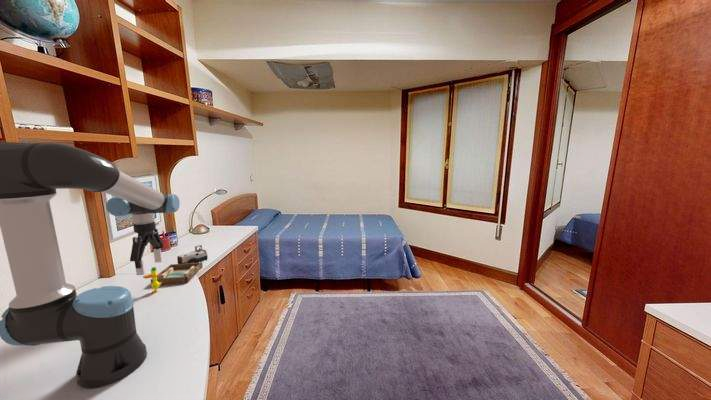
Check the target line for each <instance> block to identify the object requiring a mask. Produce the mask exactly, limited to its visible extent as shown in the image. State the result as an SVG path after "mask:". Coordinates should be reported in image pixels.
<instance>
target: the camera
mask: <svg viewBox="0 0 711 400" xmlns="http://www.w3.org/2000/svg"><path fill="white" fill-rule="evenodd" d="M204 260H205V261H208V252H207V250H206V249H203V244H200V245H199V244H198V245H195V246H194V250H193V251H190V252H187V253H183V254H179V255H177V264H186V263H199V262H200V263H203V262H205V261H204Z"/></svg>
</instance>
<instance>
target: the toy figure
mask: <svg viewBox="0 0 711 400" xmlns="http://www.w3.org/2000/svg"><path fill="white" fill-rule="evenodd" d="M158 274H159V273H158V272H157V267H156V266H153V267H151V269H150V274H144V275H142V278H144V279H145V280H146V279H152V280H153V282H152V284H151V283H150V286H151V289H152V292H151V294H157V293H158V292H159V291H158V289H159V288H160V287H161V286H160V285H161V283H162V282H161V283H159V282H158V281H157V276H158Z"/></svg>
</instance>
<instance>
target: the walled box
mask: <svg viewBox="0 0 711 400" xmlns="http://www.w3.org/2000/svg"><path fill="white" fill-rule="evenodd" d="M203 267H204V266H203V262H200V263H186V264H178V263H175V264H174V263H173V264H169V265H168V266H167V267H165V268H164V269H163V270H162V271H160V272H159V273H157V274H158V276H157V281H158V282H159V283H161V282H162V283H161V285H160V286H159V287H162V286H170V285H180V284H181V285H182V284H188V283H189V282H190V281H191V280H192V279H193V278H194V277H195V276H196V275H197V274H198V273H199V272H200V271H199V270H202V269H203ZM152 282H153V280H152V278H150V285H151V284H152Z"/></svg>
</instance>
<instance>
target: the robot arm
mask: <svg viewBox="0 0 711 400" xmlns="http://www.w3.org/2000/svg"><path fill="white" fill-rule="evenodd" d="M57 189H60V190H61V189H63V190H64V189H66V190H67V189H69V190H71V189H74V190H85V191H89V192H91V193H98V194H99V193H105V194H108V195H109V196H113V197H111V198H109V199H108V200H107V201H106V204H105V208H106V211H107V212H108V213H109V214H110V215H111V216H114V217H124V216H127V215H131V219H132V223H133V225H132V226H133V233H136V234H137V236H133V237H132V247H131V250H130V251H131V252H130V257H129V261H130V262H134V265H135V272H136V276H145V275H146V273H145V272H146V271H145V266H144V263H145V262H144V259H143V257H144V252H145V249H146V247H147V246H148V244H150V245H151V246H152V247H153V258H154V263H163V257H162V249H163V248H164V242H163V240H162V238H161V236H160V234H159V232H158V228H157V225H156V222H155V220H156V219H155V216H156V215H155V214H171V213H176V212H177V211H178V210H179V208H180V205H181V203H180V197H179V196H178V195H177V194H174V193H172V194H171V193H167V194H165V193H163V192H161V191H159V190H156V189H155V188H153V187H151V186H150V185H147V184H145V183H144V182H142V181H139V180H138V179H137V178H134V177H132V176H130V175H128V174H126V173H124V172H123V171H121V170H120V168H119V166H117V165H116V164H115V163H114V162H112V161H110V160H108V159H105V158H104V157H101V156H100V155H97V154H95V153H92V152H90V151H88V150H85V149H82V148H79V147H76V146H72V145H69V144H64V143H59V142H58V143H57V142H24V141H23V142H18V141H15V142H14V141H12V142H11V141H0V232H1V236H2V240H3V245H4V249H5V253H6V256H7V261H8V265H9V269H10V274H11V277H12V282H13V286H14V291H15V294H16V296H15V297H13V299H11V301H9V303H8V308H7V309H5V310H4V312H3V313H2V314H1V316H0V318H2V319H1V320H0V339H1V340H2V341H3V342H5V344H8V345H11V346H16V347H17V346H20V347H21V346H26V347H27V346H28V347H29V346H30V347H34V346H38V345H39V346H40V345H45V344H47V345H48V344H54V343H64V342H65V343H66V342H73V341H75V342H76V341H79V343H80V348H81V349H80V350H81V355H80V358H79V362H78V366H77V369H76V371H75V378H76V383H77V385H78V386H79V387H80V388H85V389H88V388H89V389H90V388H91V389H92V388H97V387H102V386H106V385H108V384H111V383H114V382H116V381H118V380H120V379H122V378H125V377H127V376H128V375H130V374H131V373H133V372H134V371H136V369H138V368H139V367H140V366H141V365H142V364H143V363H144V362H145V360H146V359H147V356H148V352H147V346H146V343H144V342H143V340H142V339H141V337H140V336H139V334H138V332H137V326H136V318H135V309H134V304H135V303H134V300H133V297H132V293H131V291H130V290H129V289H128V288H126V287H124V286H119V285H107V286H101V287H94V288H91V289H88V290H85V291H82V292H81V293H79V294H77V292H76V291H77V289H76V286H75V285H73V284H71V283H67V282H66V277H65V272H64V271H65V270H64V267H63V262H62V261H63V260H62V257H61V252H60V246H59V242H58V237H57V233H56V228H55V227H56V226H55V223H54V221H55V220H54V219H53V218H54V216H53V213H52V206H51V202H50V201H51V199H53V198H54V197H56V195H57Z"/></svg>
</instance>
